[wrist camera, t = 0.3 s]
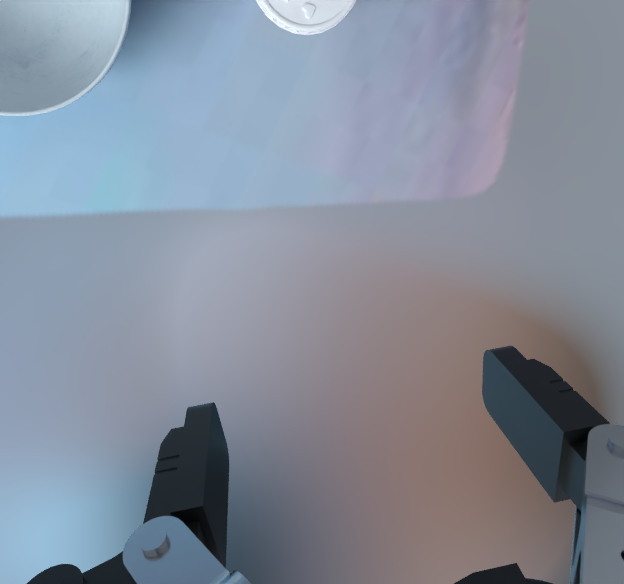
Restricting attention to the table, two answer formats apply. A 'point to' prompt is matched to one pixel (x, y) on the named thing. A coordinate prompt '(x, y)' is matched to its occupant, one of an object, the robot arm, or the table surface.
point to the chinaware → (56, 50)
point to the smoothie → (306, 14)
